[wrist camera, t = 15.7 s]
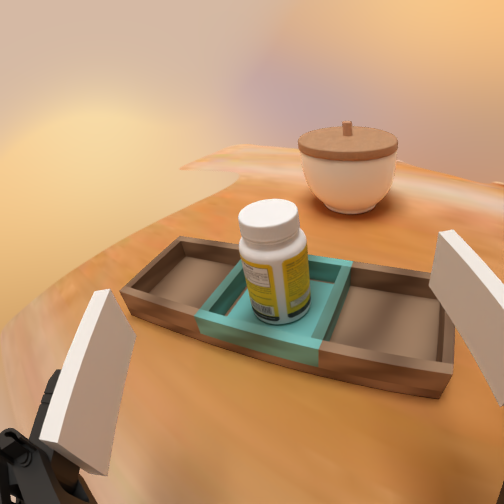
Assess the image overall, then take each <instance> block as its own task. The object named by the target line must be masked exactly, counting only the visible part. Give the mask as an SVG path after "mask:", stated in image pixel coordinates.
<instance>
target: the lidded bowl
mask: <svg viewBox="0 0 504 504" xmlns="http://www.w3.org/2000/svg"><path fill="white" fill-rule="evenodd" d="M298 146H299V150H300V154H301V162H302V168H303V172H304V176H305V179H306V181H307V184H308V186H309V187H310V189H311V191H312V192H313V193H314V195H315V196H316V197H317V198H318V199H319V200H321V201H322V202H323V203H324V204H325V206H326V207H327V208H328V209H330V210H332V211H334V212H338V213H342V214H360V213H365V212H368V211H370V210H372V209H373V208H374V207H375V206H376V204H377V203H378V202H379V201H381V200H382V199H383V198H384V197H385V196H386V194H387V193H388V191H389V190H390V187H391V185H392V183H393V180H394V176H395V170H396V160H397V148H398V140H397V138H396V137H395V136H394V135H393V134H391V133H389V132H386V131H383V130H379V129H375V128H368V127H356V126H352V122H351V121H343V122H342V127H329V128H322V129H318V130H314V131H310V132H308V133H305V134H303V135H302V136H300V138H299V139H298Z"/></svg>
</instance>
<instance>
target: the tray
mask: <svg viewBox="0 0 504 504" xmlns="http://www.w3.org/2000/svg"><path fill="white" fill-rule="evenodd" d="M308 264H309V278H310V293H311V303H310V307H309V309H308V311H307V312H306V313H305V315H304V316H302V317H301V318H299V319H298V320H296V321H293V322H290V323H286V324H270V323H266V322H264V321H262V320H260V319H259V318H258V317H257V316H256V315H255V313H254V312H253V309H252V305H251V301H250V297H249V292H248V288H247V284H246V279H245V275H244V271H243V266H242V262H241V257H240V253H239V244H232V243H225V242H218V241H211V240H204V239H197V238H190V237H183V236H179V237H178V238H177V239H176V240H175V241H173V242H172V243H171V244H170V245H169V246H168V247H167V248H166V249H164V250H163V251H162V252H161V253H160V254H159V255H158V256H157V257H156V258H154V259H153V260H152V261H151V262H150V263H149V264H148V265H147V266H146V267H145V268H144V269H142V270H141V271H140V272H139V273H138V274H137V275H136V276H135V277H134V278H133V279H132V280H131V281H130V282H128V283H127V284H126V285H125V286H124V287H123V288H122V289H121V290H120V293H121V295H122V297H123V299H124V301H125V303H126V305H127V307H128V309H129V311H130V313H131V315H134V316H136V317H139V318H141V319H144V320H146V321H149V322H151V323H154V324H157V325H159V326H162V327H164V328H167V329H170V330H173V331H175V332H178V333H181V334H183V335H186V336H189V337H192V338H195V339H198V340H201V341H203V342H206V343H209V344H212V345H215V346H218V347H221V348H224V349H228V350H231V351H234V352H237V353H240V354H243V355H247V356H250V357H253V358H256V359H260V360H263V361H267V362H270V363H274V364H277V365H281V366H284V367H288V368H292V369H295V370H299V371H303V372H307V373H311V374H315V375H319V376H323V377H327V378H331V379H335V380H340V381H344V382H348V383H353V384H358V385H362V386H367V387H372V388H377V389H382V390H387V391H393V392H398V393H404V394H410V395H416V396H422V397H428V398H435V399H439V398H440V396H441V394H442V393H443V391H444V389H445V388H446V386H447V384H448V382H449V380H450V379H451V377H452V375H453V364H454V343H455V325H454V323H453V322H452V320H451V319H450V317H449V316H448V314H447V312H446V311H445V309H444V308H443V306H442V305H441V303H440V302H439V300H438V299H437V297H436V296H435V294H434V293H433V291H432V290H431V288H430V287H429V281H430V276H431V273H427V272H421V271H414V270H408V269H401V268H394V267H388V266H381V265H374V264H368V263H361V262H354V261H348V260H341V259H334V258H328V257H321V256H314V255H308Z"/></svg>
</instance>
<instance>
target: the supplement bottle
mask: <svg viewBox="0 0 504 504" xmlns="http://www.w3.org/2000/svg"><path fill="white" fill-rule="evenodd" d="M238 220H239V226H240V232H241V236H242V238H241V239H240V242H239V253H240V257H241V262H242V266H243V271H244V275H245V279H246V284H247V288H248V292H249V297H250V301H251V305H252V309H253V312H254V313H255V315H256V316H257V317H258V318H259V319H260V320H262V321H264V322H266V323H270V324H286V323H290V322H293V321H296V320H298V319H299V318H301V317H302V316H304V315H305V313H306V312H307V311H308V309H309V307H310V303H311V293H310V278H309V264H308V251H307V240H306V236H305V234H304V232H303V231H302V229H301V228H300V222H299V215H298V209H297V206H296V205H295V204H294V203H292V202H290V201H287V200H283V199H267V200H261V201H257V202H255V203H252V204H250V205H248V206H246V207H245V208H243V209H242V210H241V211H240V213H239V216H238Z"/></svg>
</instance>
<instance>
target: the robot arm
mask: <svg viewBox="0 0 504 504" xmlns="http://www.w3.org/2000/svg"><path fill="white" fill-rule="evenodd" d="M429 287H430V288H431V290H432V291H433V293H434V294H435V296H436V297H437V299H438V300H439V302H440V303H441V305H442V306H443V308H444V309H445V311H446V312H447V314H448V316H449V317H450V319H451V320H452V322H453V323H454V325H455V327H456V328H457V330H458V332H459V333H460V335H461V337H462V338H463V340H464V342H465V343H466V345H467V347H468V348H469V350H470V352H471V353H472V355H473V357H474V359H475V361H476V362H477V364H478V366H479V368H480V370H481V371H482V373H483V375H484V377H485V379H486V381H487V383H488V384H489V386H490V388H491V390H492V392H493V394H494V396H495V398H496V400H497V402H498V404H499V406H500V407H501V406H503V405H504V284H503V283H502V282H501V281H500V280H499V279H498V277H497V276H496V275H495V274H494V273H493V272H492V270H491V269H490V268H489V267H488V266H487V265H486V264H485V263H484V261H483V260H482V259H481V258H480V257H479V256H478V255H477V254H476V253H475V252H474V251H473V250H472V249H471V247H470V246H469V245H468V244H467V243H466V242H465V241H464V240H463V239H462V238H461V237H460V236H459V235H458V234H457V233H456V232H455V231H454V230H449V231H443V232H439V233H438V239H437V245H436V251H435V256H434V262H433V267H432V272H431V276H430V281H429ZM135 339H136V334H135V333H134V331H133V329H132V328H131V326H130V324H129V322H128V321H127V319H126V317H125V315H124V313H123V312H122V310H121V308H120V306H119V304H118V303H117V301H116V299H115V297H114V295H113V293H112V291H111V289H106V290H99V291H95V292H94V294H93V296H92V298H91V300H90V302H89V305H88V307H87V309H86V311H85V314H84V316H83V318H82V320H81V323H80V325H79V327H78V330H77V332H76V334H75V337H74V339H73V342H72V344H71V347H70V349H69V352H68V354H67V357H66V359H65V362H64V365H63V367H62V370H56V371H55V372H54V374H53V375H52V376H51V378H50V379H49V381H48V383H47V386H46V389H45V392H44V393H45V395H43V397H42V400H41V404H40V406H39V409H38V412H37V415H36V418H35V421H34V424H33V428H32V431H31V434H30V437H29V440H28V439H27V438H26V437H24V436H23V435H22V434H21V433H19V432H18V431H17V430H15V429H13V428H8V429H5V430H4V431H2V432H1V433H0V504H98V503H97V502H96V500H95V498H94V497H93V495H92V493H91V491H90V490H89V488H88V486H87V484H86V482H85V481H84V479H83V477H82V476H81V475H80V474H79V470H80V468H81V469H83V470H84V471H86V472H88V473H89V474H95V475H101V476H108V470H109V463H110V457H111V451H112V445H113V440H114V434H115V429H116V423H117V418H118V413H119V408H120V403H121V399H122V394H123V389H124V385H125V380H126V376H127V372H128V368H129V363H130V359H131V355H132V351H133V347H134V343H135ZM10 494H11V495H13V496H15V497H16V503H14V502H12V501H11V496H10ZM496 504H504V482H503V485H502V488H501V491H500V494H499V497H498V500H497V503H496Z"/></svg>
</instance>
